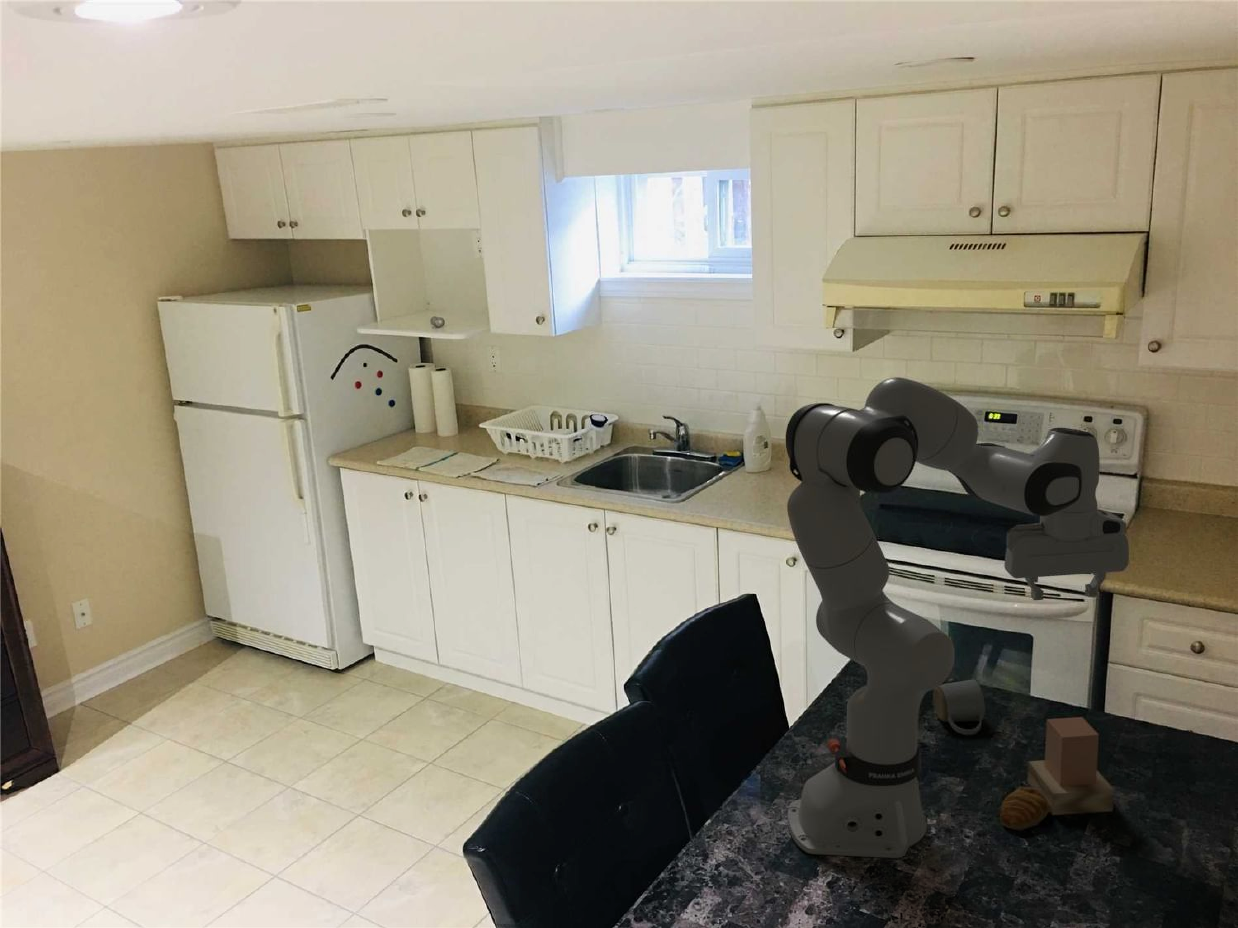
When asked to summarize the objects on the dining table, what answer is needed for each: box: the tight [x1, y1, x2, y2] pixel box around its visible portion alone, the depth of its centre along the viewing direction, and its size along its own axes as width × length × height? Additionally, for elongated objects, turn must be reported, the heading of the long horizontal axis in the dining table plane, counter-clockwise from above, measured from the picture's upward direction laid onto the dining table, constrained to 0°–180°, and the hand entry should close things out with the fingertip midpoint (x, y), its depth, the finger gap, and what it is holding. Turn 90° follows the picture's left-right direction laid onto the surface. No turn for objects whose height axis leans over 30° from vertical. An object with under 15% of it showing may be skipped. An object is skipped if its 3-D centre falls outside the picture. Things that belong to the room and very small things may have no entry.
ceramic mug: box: [932, 679, 986, 736], centre depth 200 cm, size 11×8×8 cm
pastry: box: [999, 786, 1051, 832], centre depth 171 cm, size 9×7×4 cm
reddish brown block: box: [1044, 716, 1100, 786], centre depth 174 cm, size 6×6×9 cm
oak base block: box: [1027, 759, 1115, 816], centre depth 175 cm, size 10×10×4 cm
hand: (1064, 597), depth 180 cm, fingers open, 8 cm apart
